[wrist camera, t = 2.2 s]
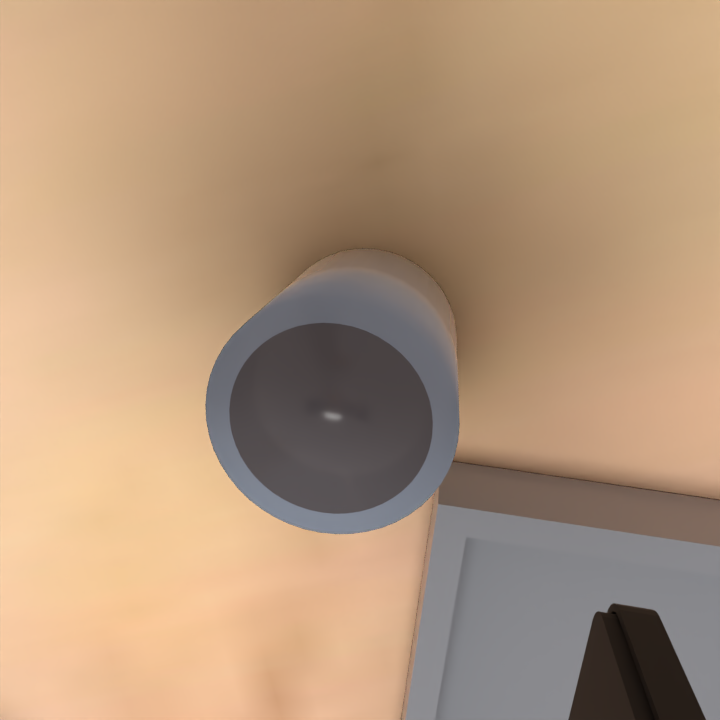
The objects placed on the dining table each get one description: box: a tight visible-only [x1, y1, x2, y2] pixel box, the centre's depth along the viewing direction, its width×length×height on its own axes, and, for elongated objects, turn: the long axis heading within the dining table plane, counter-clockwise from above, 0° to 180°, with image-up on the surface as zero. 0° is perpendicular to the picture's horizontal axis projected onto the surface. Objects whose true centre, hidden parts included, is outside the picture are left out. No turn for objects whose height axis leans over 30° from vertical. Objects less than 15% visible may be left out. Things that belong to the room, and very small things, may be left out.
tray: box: [401, 461, 720, 720], centre depth 23 cm, size 16×16×3 cm
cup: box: [206, 248, 459, 534], centre depth 19 cm, size 6×6×7 cm
